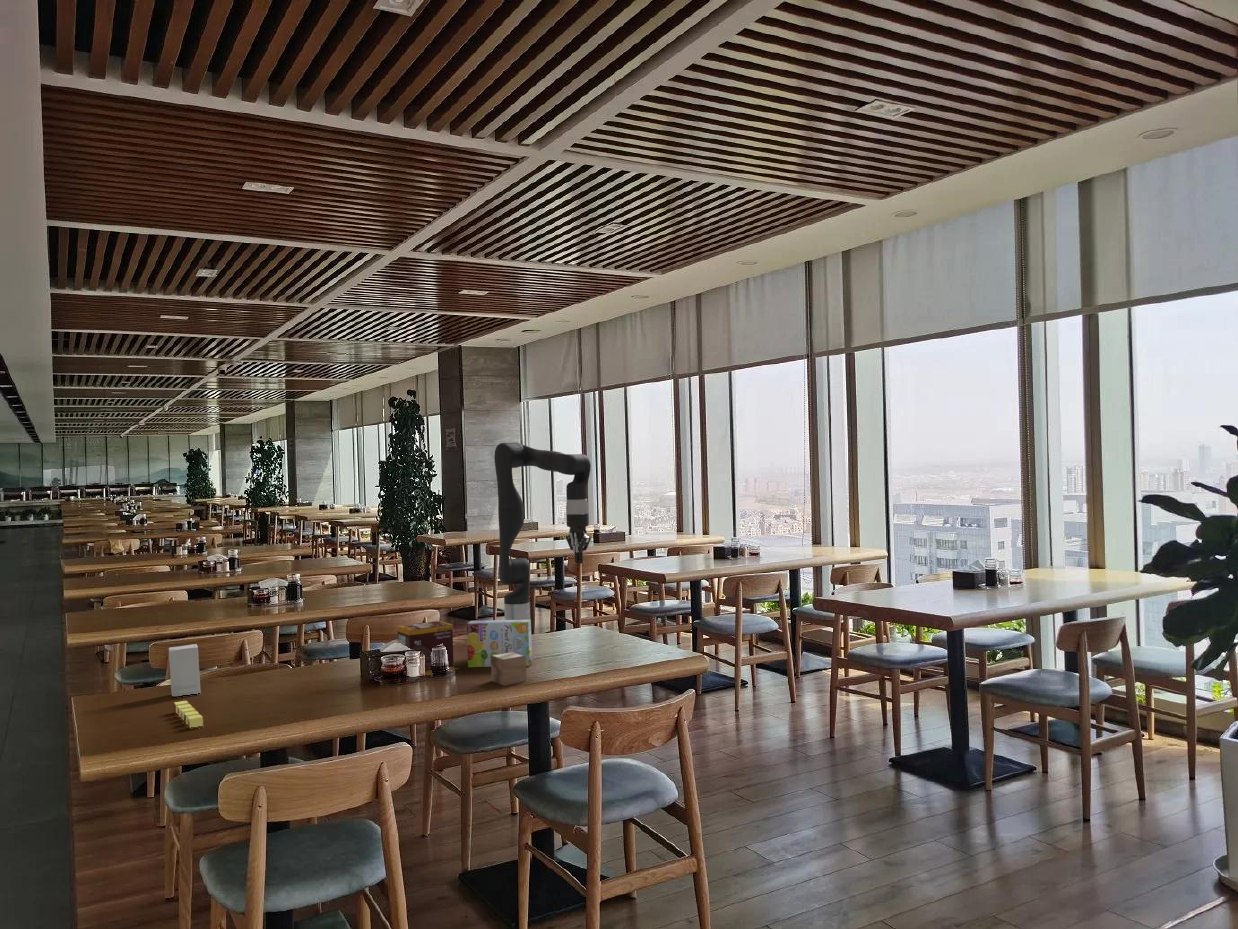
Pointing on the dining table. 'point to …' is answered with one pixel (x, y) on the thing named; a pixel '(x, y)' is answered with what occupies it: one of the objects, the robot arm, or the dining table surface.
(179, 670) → the skincare box
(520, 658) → the walnut cube
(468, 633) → the snack box
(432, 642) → the supplement box
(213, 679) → the dining table surface
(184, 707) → the yellow segmented bar
